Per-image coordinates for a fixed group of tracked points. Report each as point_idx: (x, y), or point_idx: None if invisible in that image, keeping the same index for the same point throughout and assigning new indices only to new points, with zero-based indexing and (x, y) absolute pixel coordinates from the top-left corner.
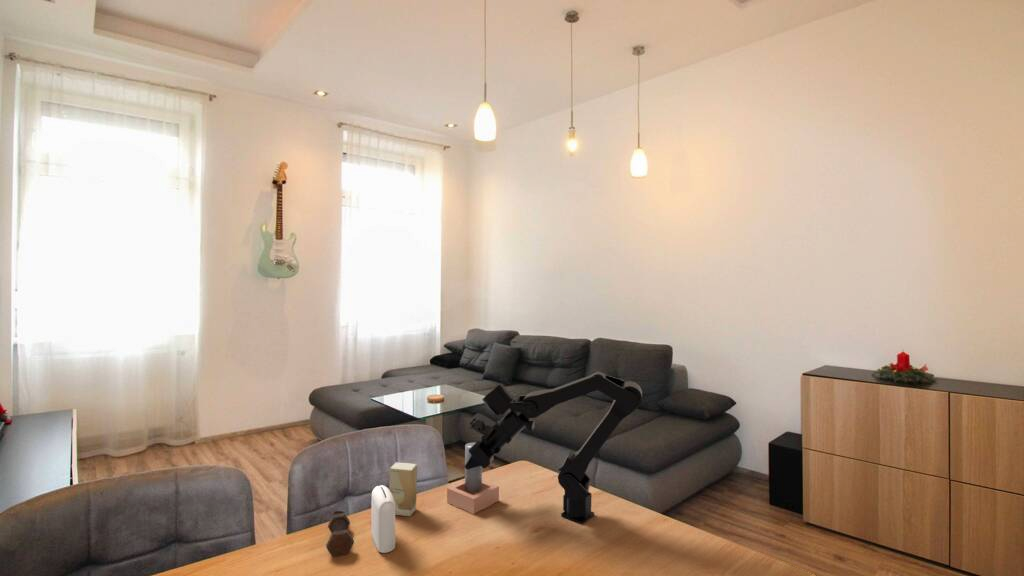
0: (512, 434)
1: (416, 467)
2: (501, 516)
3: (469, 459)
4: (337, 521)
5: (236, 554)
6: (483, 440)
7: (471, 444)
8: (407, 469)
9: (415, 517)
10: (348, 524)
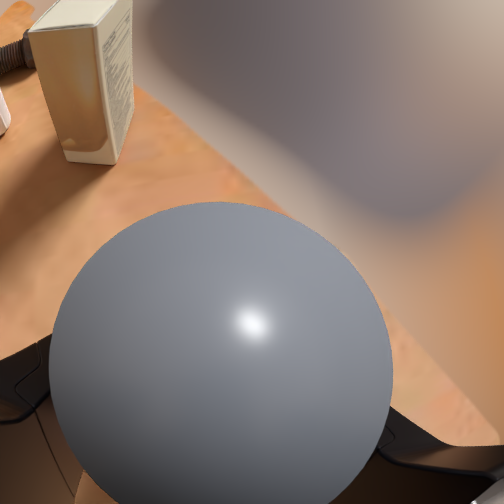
0: None
1: (78, 35)
2: (82, 496)
3: (44, 339)
4: (16, 41)
5: (25, 7)
6: (432, 501)
7: (284, 315)
8: (41, 20)
9: (60, 177)
10: (25, 59)
